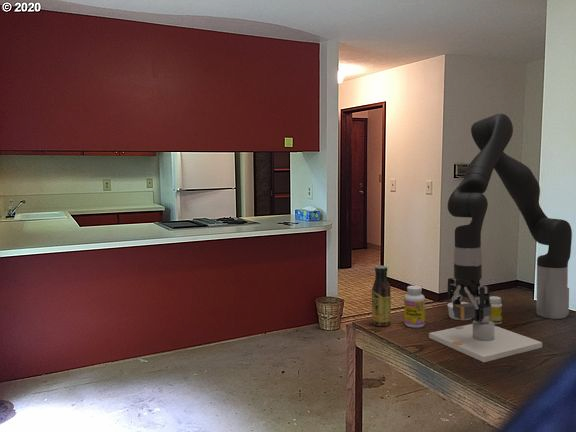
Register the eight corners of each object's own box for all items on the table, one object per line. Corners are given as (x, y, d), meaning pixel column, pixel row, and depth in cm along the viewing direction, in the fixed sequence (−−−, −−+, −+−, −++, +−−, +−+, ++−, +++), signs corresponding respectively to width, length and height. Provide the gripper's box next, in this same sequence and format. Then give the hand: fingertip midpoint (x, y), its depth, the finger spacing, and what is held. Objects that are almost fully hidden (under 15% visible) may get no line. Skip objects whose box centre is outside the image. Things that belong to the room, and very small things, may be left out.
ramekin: (456, 322, 166) (456, 309, 165) (442, 315, 174) (442, 303, 174) (480, 319, 168) (480, 307, 167) (464, 312, 176) (464, 300, 176)
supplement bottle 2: (503, 324, 161) (503, 299, 160) (488, 324, 162) (488, 299, 161) (500, 320, 166) (500, 295, 165) (485, 320, 166) (485, 295, 166)
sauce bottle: (370, 322, 169) (368, 265, 167) (388, 320, 170) (386, 264, 168) (375, 328, 163) (373, 268, 161) (393, 326, 163) (392, 267, 161)
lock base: (483, 326, 160) (483, 308, 160) (542, 347, 140) (542, 327, 140) (429, 337, 152) (428, 318, 151) (483, 362, 132) (483, 340, 131)
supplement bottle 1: (402, 327, 162) (402, 289, 161) (406, 321, 168) (405, 284, 167) (423, 329, 160) (423, 290, 159) (426, 322, 166) (425, 285, 165)
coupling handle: (484, 319, 147) (484, 300, 147) (491, 322, 144) (491, 303, 144) (454, 324, 144) (454, 304, 144) (460, 327, 141) (460, 307, 141)
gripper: (440, 259, 146) (440, 313, 148) (476, 267, 133) (476, 326, 135) (459, 257, 149) (460, 309, 151) (497, 264, 136) (496, 322, 138)
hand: (467, 317), depth 143 cm, fingers open, 8 cm apart
